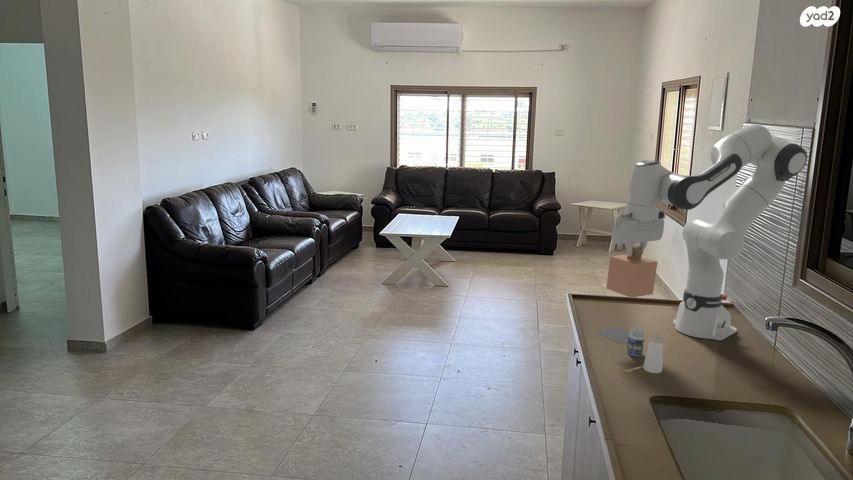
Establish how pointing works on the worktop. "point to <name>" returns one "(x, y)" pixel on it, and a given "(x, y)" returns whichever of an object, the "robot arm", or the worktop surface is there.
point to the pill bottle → (635, 342)
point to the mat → (615, 334)
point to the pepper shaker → (654, 355)
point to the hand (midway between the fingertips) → (634, 255)
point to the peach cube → (632, 274)
